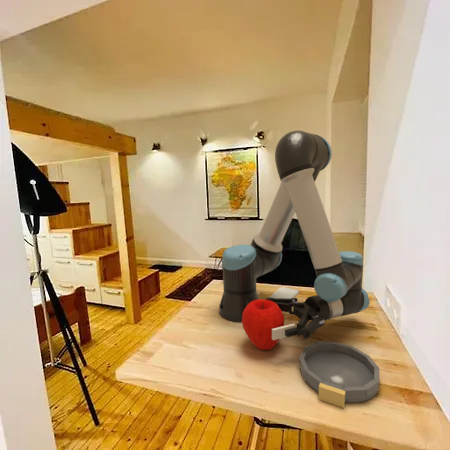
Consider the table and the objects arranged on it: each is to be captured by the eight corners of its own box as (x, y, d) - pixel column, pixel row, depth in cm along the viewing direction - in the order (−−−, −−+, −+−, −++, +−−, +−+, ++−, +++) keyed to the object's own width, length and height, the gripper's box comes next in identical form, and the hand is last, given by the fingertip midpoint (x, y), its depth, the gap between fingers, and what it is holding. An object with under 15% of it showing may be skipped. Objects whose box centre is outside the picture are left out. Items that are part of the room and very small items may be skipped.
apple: (234, 344, 77) (232, 300, 75) (263, 330, 84) (263, 289, 82) (262, 366, 68) (261, 316, 66) (293, 348, 74) (293, 302, 72)
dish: (290, 389, 60) (290, 377, 59) (309, 345, 75) (309, 335, 75) (378, 420, 51) (379, 406, 51) (379, 364, 67) (379, 353, 66)
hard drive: (288, 301, 101) (299, 289, 111) (268, 297, 106) (280, 286, 116) (288, 305, 101) (299, 293, 111) (268, 301, 106) (280, 289, 116)
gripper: (355, 340, 70) (285, 361, 63) (297, 302, 93) (241, 314, 86) (356, 313, 69) (285, 332, 62) (297, 281, 92) (241, 292, 85)
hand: (259, 322), depth 74 cm, fingers open, 13 cm apart
